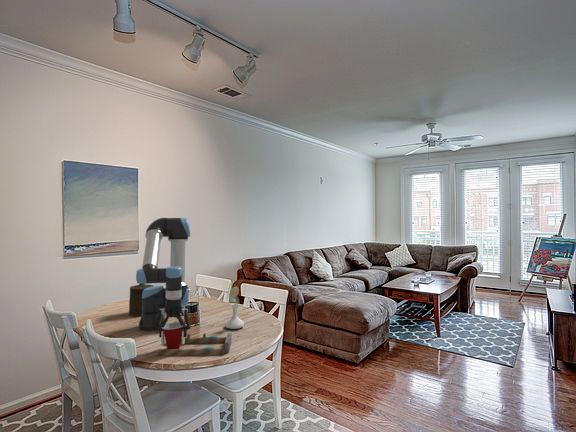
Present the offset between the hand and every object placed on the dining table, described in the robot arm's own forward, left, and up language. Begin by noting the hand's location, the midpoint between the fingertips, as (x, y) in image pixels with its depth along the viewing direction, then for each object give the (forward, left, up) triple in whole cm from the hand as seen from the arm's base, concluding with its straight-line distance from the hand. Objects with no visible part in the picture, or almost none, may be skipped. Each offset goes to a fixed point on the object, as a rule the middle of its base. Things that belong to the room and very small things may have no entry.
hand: (173, 343), depth 162 cm
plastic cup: (0, 0, -3) cm, 3 cm away
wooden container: (-37, +62, -3) cm, 72 cm away
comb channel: (+10, 0, -3) cm, 10 cm away
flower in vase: (+28, +30, -3) cm, 41 cm away
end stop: (+27, 0, -3) cm, 27 cm away
